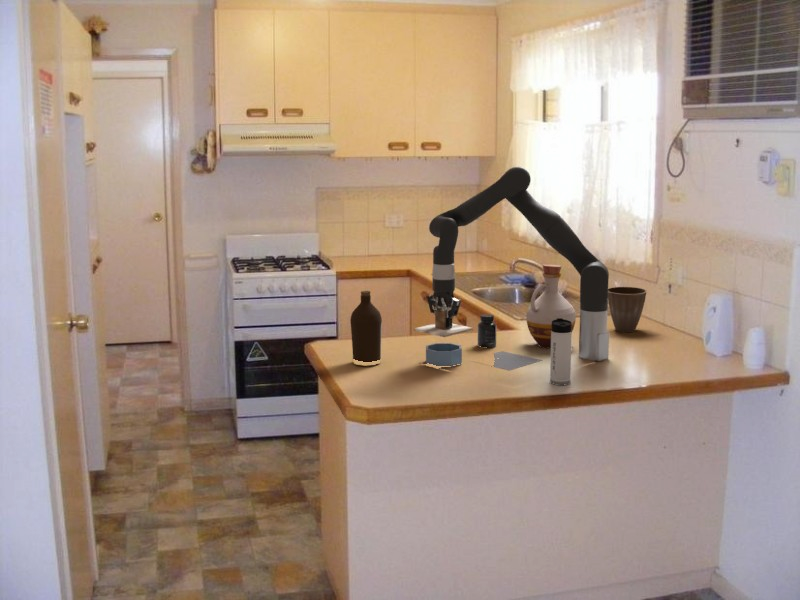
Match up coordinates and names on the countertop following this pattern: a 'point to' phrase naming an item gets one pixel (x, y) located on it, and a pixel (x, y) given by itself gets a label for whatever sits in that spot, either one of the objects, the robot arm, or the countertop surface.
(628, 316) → the plant pot
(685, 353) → the countertop surface
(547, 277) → the jug
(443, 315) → the lid
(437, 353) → the bowl
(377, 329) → the olive oil
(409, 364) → the countertop surface
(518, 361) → the mat
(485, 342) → the supplement bottle
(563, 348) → the travel mug
